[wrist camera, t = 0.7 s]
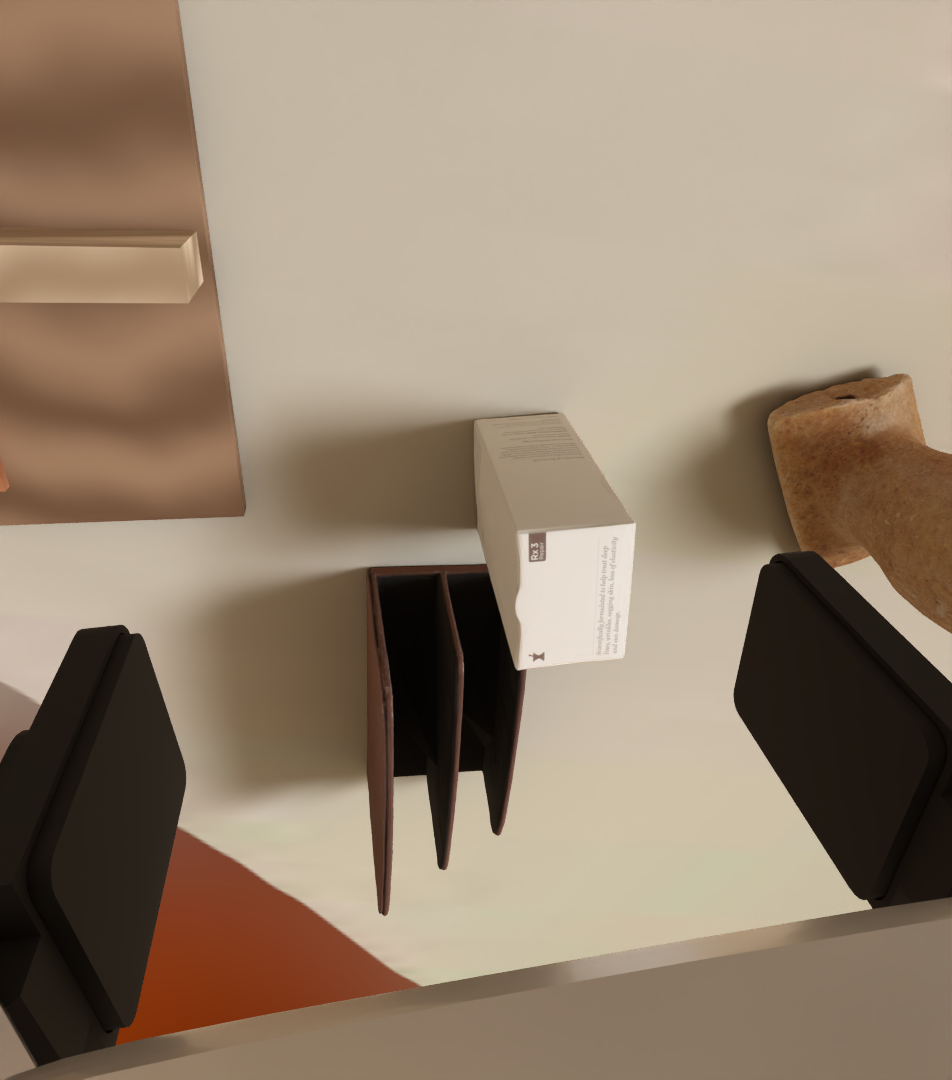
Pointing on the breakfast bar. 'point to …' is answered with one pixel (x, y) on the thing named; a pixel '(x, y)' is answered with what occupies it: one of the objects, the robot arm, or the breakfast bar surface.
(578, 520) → the skincare box
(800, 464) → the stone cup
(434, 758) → the letter holder
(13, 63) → the jamb plate
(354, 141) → the breakfast bar surface
